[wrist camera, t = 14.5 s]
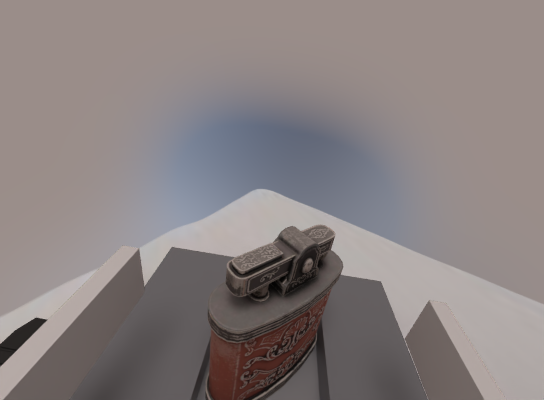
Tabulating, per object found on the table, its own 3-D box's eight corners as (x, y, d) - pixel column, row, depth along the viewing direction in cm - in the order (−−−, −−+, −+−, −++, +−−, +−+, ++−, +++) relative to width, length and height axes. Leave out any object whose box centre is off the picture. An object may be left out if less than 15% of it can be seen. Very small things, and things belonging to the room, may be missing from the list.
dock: (371, 301, 23) (380, 281, 21) (463, 584, 10) (497, 572, 9) (173, 268, 23) (171, 247, 22) (27, 508, 10) (5, 487, 9)
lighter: (292, 313, 20) (321, 202, 15) (325, 348, 18) (371, 232, 13) (194, 379, 15) (193, 244, 10) (223, 439, 13) (239, 304, 8)
